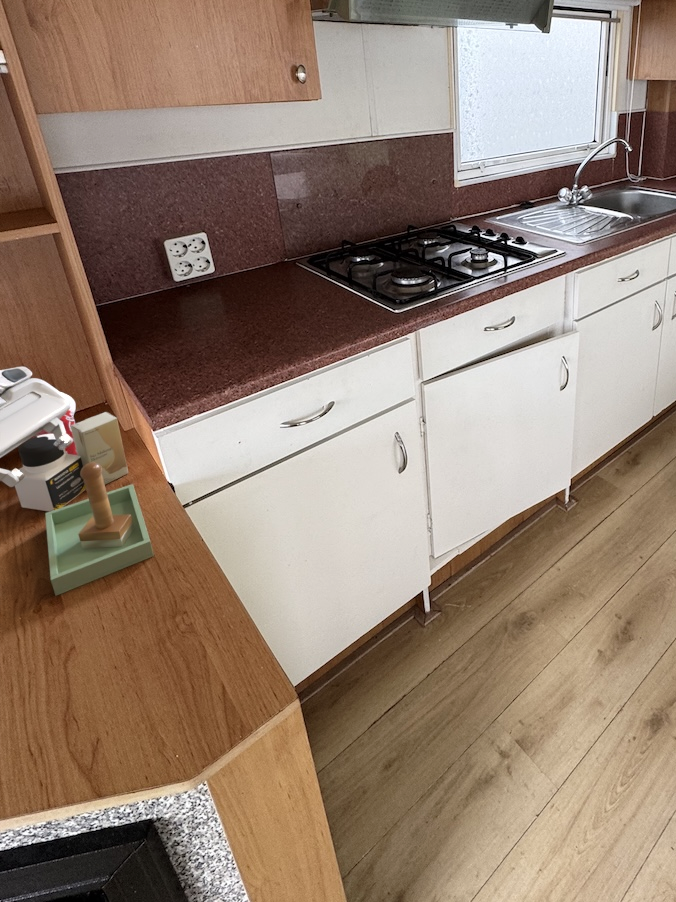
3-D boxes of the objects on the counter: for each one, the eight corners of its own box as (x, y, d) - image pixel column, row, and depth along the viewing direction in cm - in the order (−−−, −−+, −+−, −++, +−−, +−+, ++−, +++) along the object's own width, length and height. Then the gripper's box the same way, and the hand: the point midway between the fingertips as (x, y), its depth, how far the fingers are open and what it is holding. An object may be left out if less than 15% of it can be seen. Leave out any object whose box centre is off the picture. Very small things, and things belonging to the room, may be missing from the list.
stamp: (82, 549, 92) (60, 473, 87) (96, 531, 95) (75, 457, 91) (122, 546, 92) (103, 471, 88) (134, 528, 96) (116, 455, 91)
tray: (153, 556, 91) (150, 541, 90) (55, 596, 84) (50, 580, 83) (136, 497, 104) (132, 483, 103) (49, 527, 97) (45, 513, 96)
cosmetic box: (94, 490, 106) (79, 433, 102) (82, 482, 108) (67, 426, 104) (131, 472, 111) (118, 417, 107) (119, 464, 113) (105, 410, 109)
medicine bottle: (55, 513, 100) (38, 455, 96) (20, 508, 101) (1, 449, 97) (90, 487, 107) (75, 431, 103) (56, 482, 108) (40, 427, 104)
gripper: (-96, 428, 76) (-6, 495, 78) (33, 361, 95) (102, 417, 98) (-117, 455, 77) (-28, 519, 80) (14, 384, 97) (82, 438, 99)
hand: (44, 462), depth 89 cm, fingers open, 8 cm apart
